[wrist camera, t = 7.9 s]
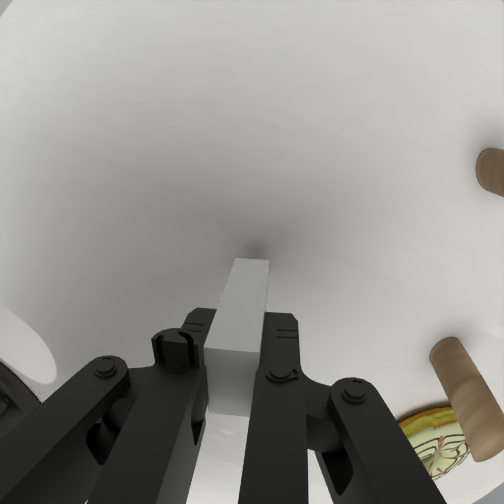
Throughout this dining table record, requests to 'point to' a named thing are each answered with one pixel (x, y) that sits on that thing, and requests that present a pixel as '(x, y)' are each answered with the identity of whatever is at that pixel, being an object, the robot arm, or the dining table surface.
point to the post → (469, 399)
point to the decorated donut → (436, 440)
